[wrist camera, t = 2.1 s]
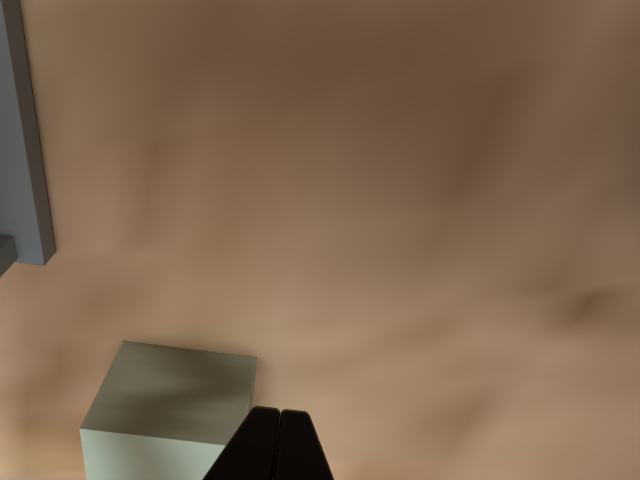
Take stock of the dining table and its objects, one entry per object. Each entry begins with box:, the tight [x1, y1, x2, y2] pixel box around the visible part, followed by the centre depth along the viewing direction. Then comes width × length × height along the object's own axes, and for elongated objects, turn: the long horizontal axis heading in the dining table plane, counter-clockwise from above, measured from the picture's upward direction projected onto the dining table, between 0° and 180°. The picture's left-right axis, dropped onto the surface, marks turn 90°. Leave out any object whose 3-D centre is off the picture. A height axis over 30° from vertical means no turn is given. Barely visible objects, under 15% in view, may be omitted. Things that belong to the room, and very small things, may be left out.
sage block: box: [80, 341, 257, 480], centre depth 25 cm, size 6×6×5 cm
